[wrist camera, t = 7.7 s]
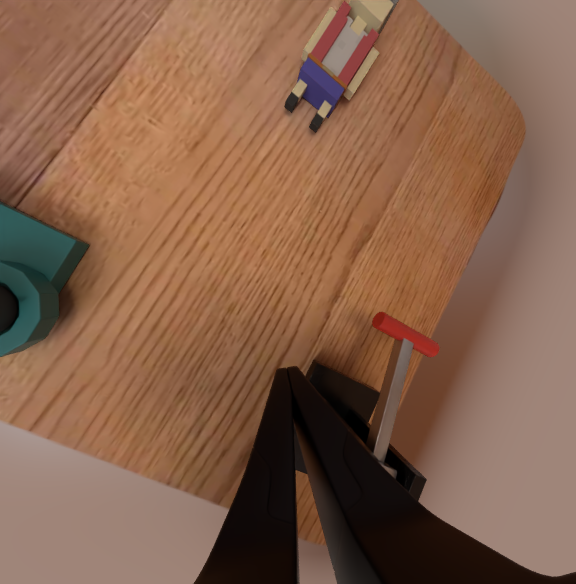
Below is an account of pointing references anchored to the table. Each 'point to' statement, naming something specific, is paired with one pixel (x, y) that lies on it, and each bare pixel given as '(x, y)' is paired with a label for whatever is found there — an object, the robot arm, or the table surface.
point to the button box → (33, 275)
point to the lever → (394, 381)
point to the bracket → (356, 420)
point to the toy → (339, 55)
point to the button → (7, 308)
